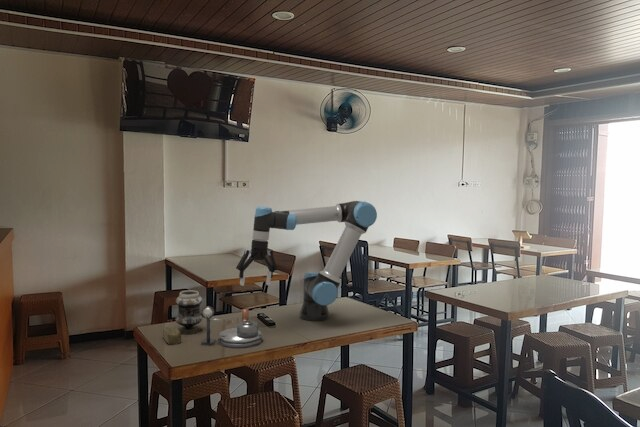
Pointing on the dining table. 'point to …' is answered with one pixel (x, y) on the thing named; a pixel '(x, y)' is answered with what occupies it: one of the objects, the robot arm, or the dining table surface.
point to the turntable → (231, 333)
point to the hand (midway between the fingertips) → (255, 285)
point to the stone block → (172, 335)
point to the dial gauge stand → (208, 325)
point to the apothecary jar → (188, 311)
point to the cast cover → (247, 329)
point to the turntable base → (239, 345)
